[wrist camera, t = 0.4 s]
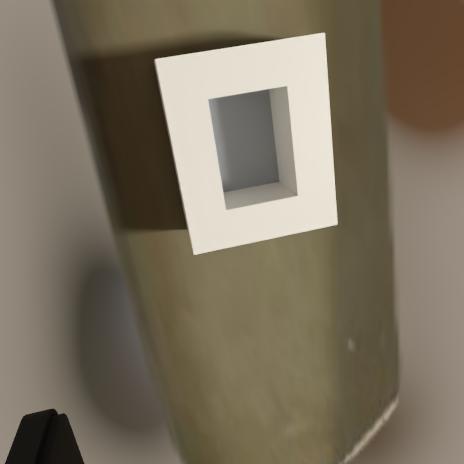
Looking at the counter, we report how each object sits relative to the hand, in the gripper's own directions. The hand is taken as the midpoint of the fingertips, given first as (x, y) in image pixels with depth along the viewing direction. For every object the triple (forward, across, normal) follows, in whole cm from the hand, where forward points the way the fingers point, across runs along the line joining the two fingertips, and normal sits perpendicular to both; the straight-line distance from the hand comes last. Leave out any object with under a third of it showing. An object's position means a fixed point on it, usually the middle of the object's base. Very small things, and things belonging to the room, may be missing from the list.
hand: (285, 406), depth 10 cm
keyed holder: (+29, -5, -1) cm, 29 cm away
